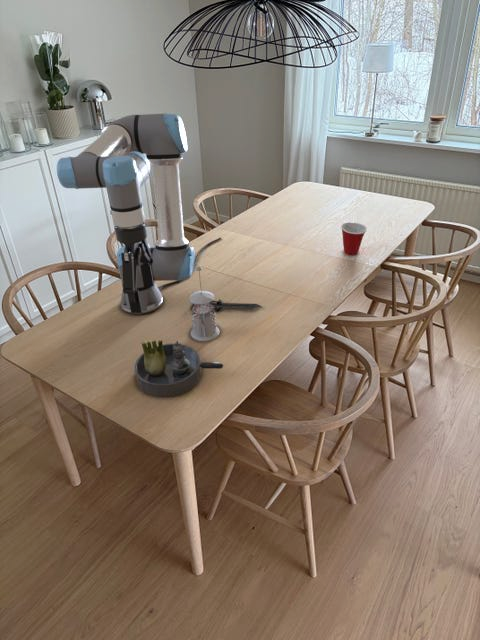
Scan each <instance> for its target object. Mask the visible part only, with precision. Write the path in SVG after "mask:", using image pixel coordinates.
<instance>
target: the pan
mask: <svg viewBox="0 0 480 640" xmlns="http://www.w3.org/2000/svg"><path fill="white" fill-rule="evenodd" d="M173 345H174V343H164V344H163V350H164V354H165V358H166V368H165V371H164V373H162V374H161V375H158V376H152V375H150V374H148V373H147V372H146V369H145V365H144V352H143V353H141V354H140V355H139V357H138V358H137V359H136V361H135V363H134V375H135V380H136V382H137V386H138V387H139V388H140V390H141V391H142V392H144V393H145V394H148V395H150V396H153V397H159V398H168V397H175V396H178V395H182V394H185V393H186V392H188V391H190V390H191V389H192V388H194V387H195V386H196V385H197V384H198V383H199V381H200V380H201V377H202V371H203V370H202V368H201V367H200V364H201V363H202V362H201V361H202V360H201V357H200V354H199V353H198V351H197V350H196V349H194V348H193V347H192V346H189V345H186V344H182V345H183V351H184V352H185V355H184V356H185V358H186V359H188V360H189V361H190V367H189V370H190V372H191V373H190V375H189V376H188V377H186V378H184V379H176V378H174V377H173V372H174V371H173V370H172V368H171V366H170V364H171V362H172V361H173V360H174V357H173V353H174V352H173ZM157 348H158V350H159V347H158V345H157ZM152 350H153V347H152ZM153 351H154V350H153Z"/></svg>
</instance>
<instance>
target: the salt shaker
mask: <svg viewBox="0 0 480 640" xmlns="http://www.w3.org/2000/svg"><path fill="white" fill-rule="evenodd" d="M173 344H174V345H173V352H174V353H173V357H174V360H173V361H172V362H171V364H170V366H171V368H172V370H173V371H174V372H173V377H174V378H176V379H184V378H186V377H188V376H189V375H190V373H191V372H190V370H189V367H190V361H189V360H188V359H186V358H185V356H184V355H185V352H184V351H183V345H184V344H183V343H182V342H179V341H178V340H176V342H174V343H173Z"/></svg>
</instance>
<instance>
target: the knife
mask: <svg viewBox="0 0 480 640" xmlns="http://www.w3.org/2000/svg"><path fill="white" fill-rule="evenodd" d="M210 304H212V305H213V307H214V310H215V311H216V313H218V312H220V311H221V310H222V309H224V310H254V309H257V308H259V307H260V308H262V307H263V306H262V305H260V304H257V303H244V302H243V303H242V302H241V303H240V302H238V303H237V302H223V300H221V299H218V301H217V300H213V301H211V302H210ZM194 305H195V304H192V307H193V306H194ZM192 307H191V308H192Z"/></svg>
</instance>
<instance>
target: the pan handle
mask: <svg viewBox="0 0 480 640" xmlns="http://www.w3.org/2000/svg"><path fill="white" fill-rule="evenodd" d="M200 367H201V369H208V370H209V369H211V370H214V369H215V370H217V369H218V370H219V369H223V367H224V363H222V362H219V361H218V362H214V361H213V362H212V361H211V362H210V361H209V362H208V361H203V362H201V364H200Z"/></svg>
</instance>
